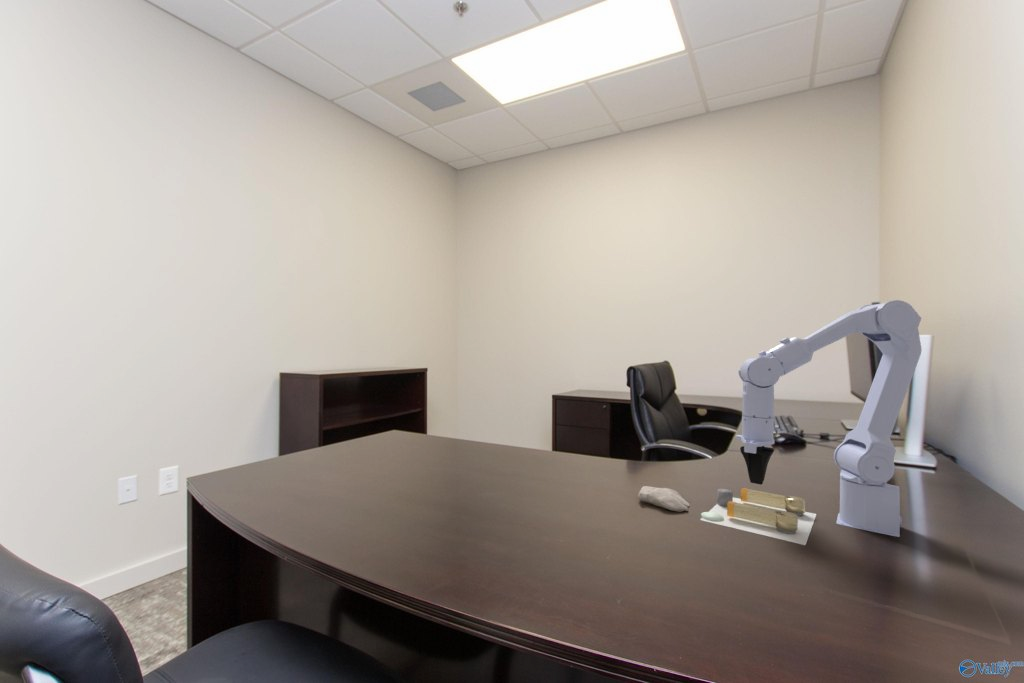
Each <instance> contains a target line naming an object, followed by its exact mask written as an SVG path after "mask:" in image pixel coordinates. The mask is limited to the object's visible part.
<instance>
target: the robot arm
mask: <svg viewBox="0 0 1024 683" xmlns="http://www.w3.org/2000/svg"><path fill="white" fill-rule="evenodd" d="M921 320H922V317H921V316H920V315H919V313H918V312H917V311H916V309H915V308H914V307H913V306H912V305H911V304H910V303H908V302H906V301H904V300H900V299H899V300H898V299H894V300H889V301H887V302H883V303H875V304H867V305H863V306H860V307H858V309H853V310H851V311H849V312H848V311H847V312H846V313H845V314H842V315H841V316H839V317H838V318H836V319H834V320H833V321H831V322H829V323H828V324H826V325H824V326H823V327H821V328H819V329H817V330H815V331H814V332H812V333H811V334H809V335H807V336H805V337H803V338H799V337H793V336H792V337H790V338H789V337H783V338H781V339H780V340H779V342H780V344H777V345H776V346H774V347H772V348H769V349H768V350H761V351H759V352H758V354H759V357H751V358H748V359H746V360H745V361H743V363H742V365H740V369H739V370H738V376H739V378H740V380H741V381H742V403H741V404H742V406H741V407H742V409H741V411H742V412H741V434H736V435H735V440H739V441H741V442H742V443H743V444H744V445H743V446H740V453H741V456H742V457H743V459H744V461H745V465H746V467H747V474H748V478H749V482H750V483H751V484H757V485H763V484H764V482H765V477H766V474H767V473H766V472H767V469H768V464H769V462H770V459H771V457H772V456H773V454H774V452H775V448H773V447H769V446H772V445H775V443H776V442H775V439H774V431H775V430H774V429H775V428H774V426H775V422H774V421H775V419H774V418H775V413H774V412H775V385H776V383H778V381H779V380H780V378H781V377H783V376H785V375H787V374H789V373H791V372H793V371H795V370H796V369H798V368H800V367H802V366H804V365H805V364H808V363H810V362H811V361H812V359H813V355H814V353H815V352H817V351H819V350H822V348H825V347H827V346H829V345H831V344H834V343H835V342H837V341H839V340H842V339H843V338H846V337H848V336H850V335H852V334H861V335H862V336H864V337H865V338H867V339H868V340H870V341H871V342H872V343H873V344H874V345H875V346H876V347H877V348H878V349H879V351H880V352H881V353H882V355H881V358H880V361H879V364H878V367H877V369H876V371H875V375H874V377H873V380H872V383H871V385H870V388H869V391H868V393H867V397H866V399H865V402H864V406H863V408H862V411H861V413H860V415H859V417H858V418H859V419H858V421H857V424H856V427H854V428H853V429H852V430H850V431H849V432H847V433H846V434H845V436H844V439H843V441H842V442H841V443H840V444H839V445H837V447H836V448H835V449H834V452H833V460H834V462H835V465H836V467H838V468H839V469H840V473H839V478H840V479H839V512H838V513H837V518H836V523H835V524H836V525H839V526H844V527H847V528H853V529H859V530H863V531H868V532H872V533H877V534H882V535H888V536H892V537H898V538H899V537H901V535H900V534H901V533H900V530H901V528H900V527H902V522H903V520H902V518H903V517H902V516H901V504H900V503H901V501H900V500H901V496H900V495H901V491H900V490H901V489H900V486H898V485H894V484H890V483H888V482H889V481H890V480H891V479H892V478H893V476H894V474H895V472H896V471H895V470H896V465H895V462H894V458H895V455H896V452H897V450H896V448H895V446H894V444H893V442H892V440H891V436H892V433H893V431H894V429H895V428H894V427H895V425H896V423H897V420H898V417H899V415H900V412H901V409H902V406H903V404H904V400H905V398H906V395H907V392H908V389H909V387H910V384H911V382H912V379H913V376H914V373H915V371H916V369H917V365H918V363H919V360H920V357H921V354H922V345H921V338H920V333H919V332H920V331H919V326H920V323H921Z"/></svg>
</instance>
